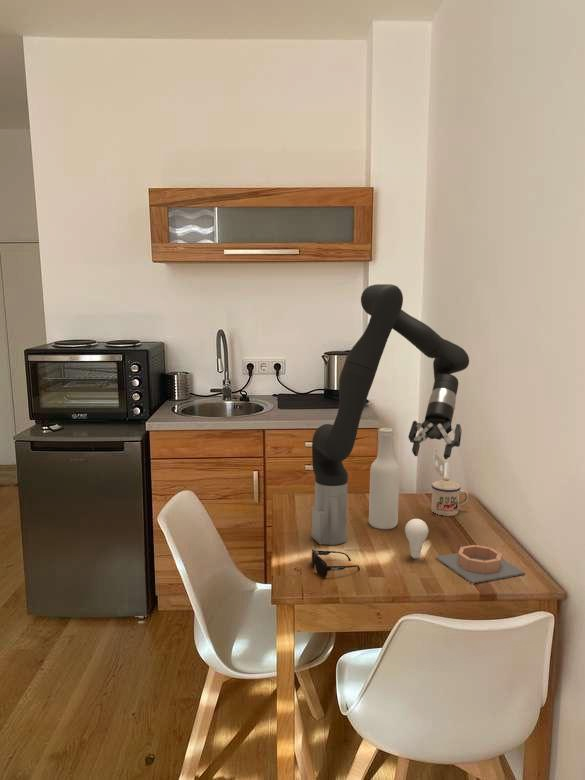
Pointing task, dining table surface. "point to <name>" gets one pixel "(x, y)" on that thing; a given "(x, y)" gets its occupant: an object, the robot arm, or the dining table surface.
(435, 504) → the teacup with lid
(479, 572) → the ring holder
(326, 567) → the sunglasses
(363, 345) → the robot arm
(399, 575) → the dining table surface
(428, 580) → the dining table surface
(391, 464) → the alcohol
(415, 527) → the lightbulb
